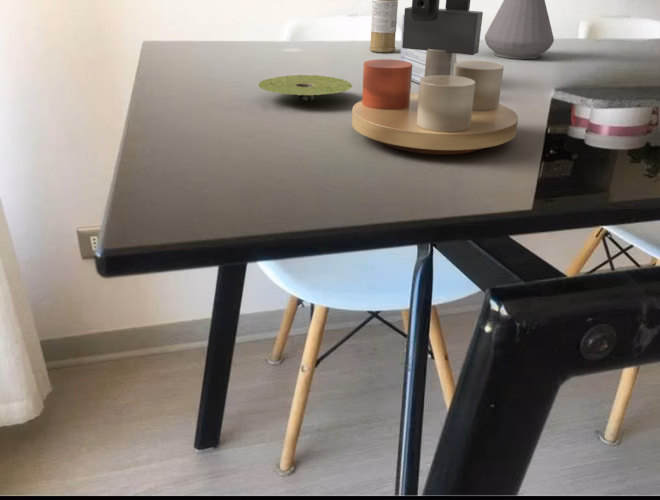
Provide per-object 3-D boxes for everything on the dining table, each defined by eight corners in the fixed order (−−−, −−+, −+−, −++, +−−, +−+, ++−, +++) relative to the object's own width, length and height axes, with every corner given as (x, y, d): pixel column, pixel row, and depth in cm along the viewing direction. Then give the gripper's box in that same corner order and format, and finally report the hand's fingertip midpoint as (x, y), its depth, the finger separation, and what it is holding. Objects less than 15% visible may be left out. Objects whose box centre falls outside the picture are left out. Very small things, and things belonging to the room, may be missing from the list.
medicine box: (454, 85, 85) (460, 18, 82) (425, 87, 84) (430, 19, 80) (425, 74, 92) (430, 11, 88) (398, 76, 90) (402, 12, 87)
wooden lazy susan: (533, 119, 65) (551, 8, 60) (488, 161, 53) (506, 25, 48) (392, 100, 72) (398, -2, 67) (322, 132, 59) (323, 11, 55)
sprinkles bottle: (381, 48, 113) (385, -34, 107) (400, 51, 111) (406, -33, 105) (363, 50, 111) (367, -33, 105) (383, 54, 108) (387, -32, 102)
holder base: (501, 133, 65) (502, 123, 64) (467, 162, 56) (468, 151, 56) (402, 118, 69) (403, 109, 69) (357, 142, 61) (357, 132, 60)
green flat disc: (361, 93, 80) (362, 78, 79) (337, 114, 70) (337, 97, 69) (278, 87, 83) (278, 72, 82) (244, 106, 73) (243, 89, 72)
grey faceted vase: (475, 57, 106) (487, -41, 100) (490, 48, 116) (501, -42, 109) (611, 69, 98) (633, -36, 92) (614, 58, 108) (635, -38, 101)
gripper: (481, -220, 43) (454, 28, 51) (530, -185, 55) (503, 13, 62) (382, -212, 47) (370, 20, 54) (448, -181, 58) (431, 8, 65)
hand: (441, 16), depth 58 cm, fingers open, 8 cm apart
